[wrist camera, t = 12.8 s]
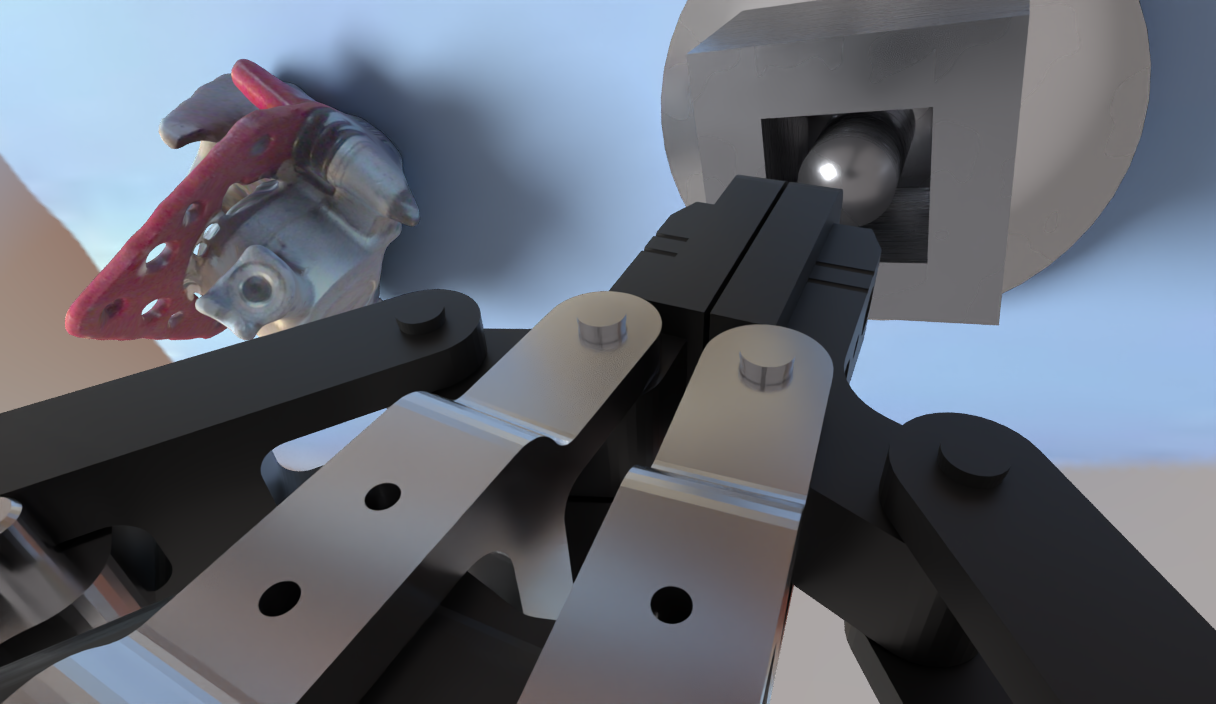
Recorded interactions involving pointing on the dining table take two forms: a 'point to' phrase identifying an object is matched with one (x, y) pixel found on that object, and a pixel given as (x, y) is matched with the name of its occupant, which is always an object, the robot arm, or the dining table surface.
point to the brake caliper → (255, 220)
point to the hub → (902, 139)
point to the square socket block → (875, 81)
